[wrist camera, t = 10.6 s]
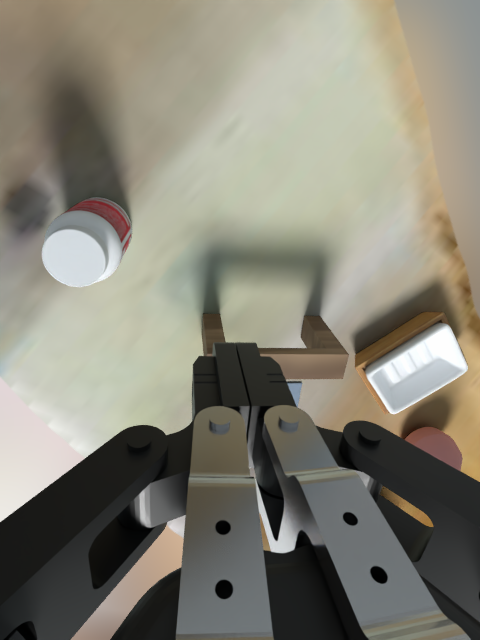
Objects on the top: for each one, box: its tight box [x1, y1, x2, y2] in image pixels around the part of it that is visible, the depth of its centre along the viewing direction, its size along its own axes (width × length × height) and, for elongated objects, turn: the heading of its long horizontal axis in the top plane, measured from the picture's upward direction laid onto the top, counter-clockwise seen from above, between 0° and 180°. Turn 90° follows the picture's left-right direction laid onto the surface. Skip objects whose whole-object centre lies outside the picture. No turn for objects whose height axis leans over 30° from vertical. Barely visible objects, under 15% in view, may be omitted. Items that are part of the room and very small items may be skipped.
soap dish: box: [355, 312, 468, 414], centre depth 49 cm, size 12×10×5 cm
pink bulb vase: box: [405, 427, 462, 471], centre depth 53 cm, size 8×8×12 cm
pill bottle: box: [42, 197, 132, 287], centre depth 34 cm, size 6×6×11 cm
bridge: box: [202, 314, 349, 379], centre depth 42 cm, size 3×14×9 cm, turn 85°
